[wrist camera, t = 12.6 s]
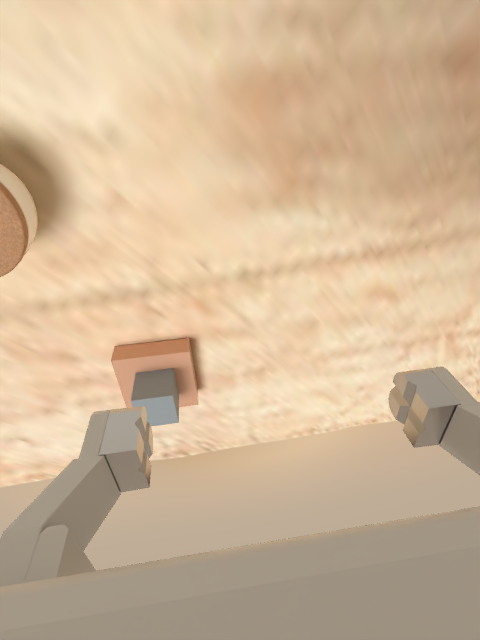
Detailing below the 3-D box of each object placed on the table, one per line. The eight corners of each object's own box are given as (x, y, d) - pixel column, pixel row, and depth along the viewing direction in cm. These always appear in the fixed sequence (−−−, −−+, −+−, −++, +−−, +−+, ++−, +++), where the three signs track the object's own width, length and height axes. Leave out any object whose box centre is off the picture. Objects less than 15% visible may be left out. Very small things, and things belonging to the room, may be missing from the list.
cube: (173, 367, 46) (172, 395, 42) (179, 394, 49) (178, 422, 45) (135, 372, 46) (130, 400, 42) (143, 399, 49) (139, 427, 45)
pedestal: (189, 337, 48) (189, 351, 45) (197, 389, 53) (198, 404, 51) (114, 346, 47) (111, 360, 44) (131, 398, 53) (128, 413, 50)
